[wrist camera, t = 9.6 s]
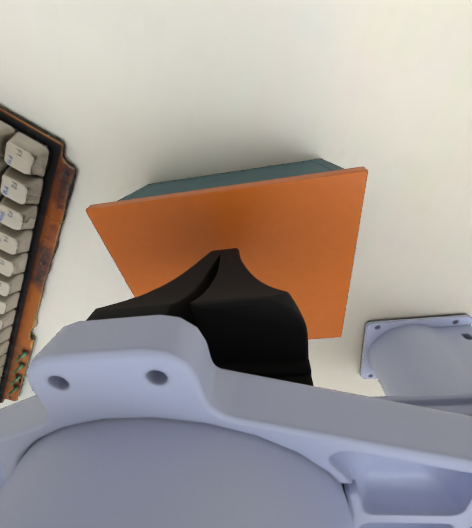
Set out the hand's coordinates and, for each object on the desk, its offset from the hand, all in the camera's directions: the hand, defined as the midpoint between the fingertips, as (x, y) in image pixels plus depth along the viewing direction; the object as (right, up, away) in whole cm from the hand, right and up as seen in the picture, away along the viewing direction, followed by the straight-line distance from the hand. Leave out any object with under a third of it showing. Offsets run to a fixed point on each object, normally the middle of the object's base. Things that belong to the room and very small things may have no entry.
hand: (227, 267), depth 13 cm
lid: (0, -1, +3) cm, 3 cm away
